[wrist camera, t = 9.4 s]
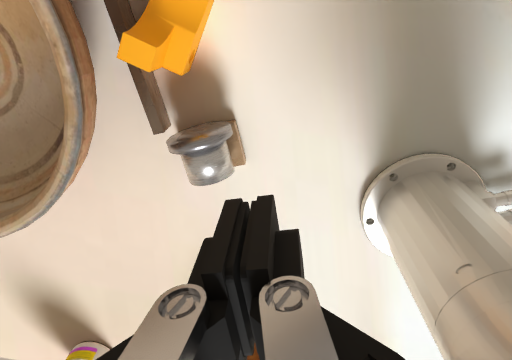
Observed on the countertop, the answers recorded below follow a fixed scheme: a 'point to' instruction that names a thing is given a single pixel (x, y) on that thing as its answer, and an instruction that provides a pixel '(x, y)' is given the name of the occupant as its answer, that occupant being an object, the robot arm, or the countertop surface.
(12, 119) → the ceramic bowl
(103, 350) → the supplement bottle
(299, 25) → the countertop surface
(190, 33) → the pipe clamp
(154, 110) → the pipe run
